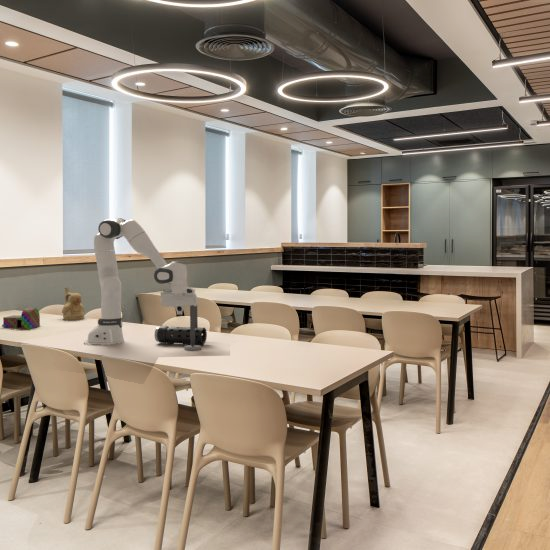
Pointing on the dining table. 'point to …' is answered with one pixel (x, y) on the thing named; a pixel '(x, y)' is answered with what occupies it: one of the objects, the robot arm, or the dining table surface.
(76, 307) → the tan eared figurine
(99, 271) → the robot arm
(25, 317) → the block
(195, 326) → the far cord post
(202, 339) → the muzzle brake
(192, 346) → the post
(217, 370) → the dining table surface
